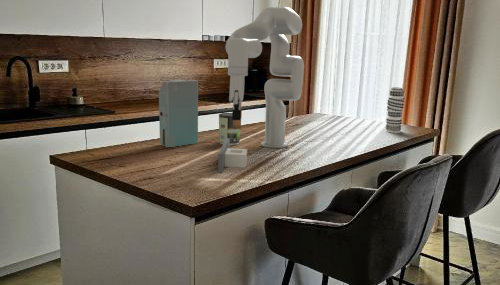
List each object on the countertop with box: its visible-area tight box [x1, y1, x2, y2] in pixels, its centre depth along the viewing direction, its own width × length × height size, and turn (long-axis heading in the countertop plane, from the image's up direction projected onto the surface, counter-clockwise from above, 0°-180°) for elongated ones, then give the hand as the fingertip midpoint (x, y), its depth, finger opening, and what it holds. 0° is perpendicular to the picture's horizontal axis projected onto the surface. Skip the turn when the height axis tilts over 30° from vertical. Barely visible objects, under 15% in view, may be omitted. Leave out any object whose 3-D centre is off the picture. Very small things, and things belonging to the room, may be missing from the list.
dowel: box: [233, 102, 242, 130], centre depth 178 cm, size 3×3×10 cm
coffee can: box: [218, 112, 241, 146], centre depth 221 cm, size 10×10×14 cm
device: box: [158, 79, 199, 148], centre depth 214 cm, size 16×8×30 cm, turn 132°
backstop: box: [217, 138, 231, 174], centre depth 181 cm, size 28×18×8 cm, turn 177°
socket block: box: [224, 147, 248, 168], centre depth 182 cm, size 10×8×5 cm
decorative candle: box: [385, 86, 405, 134], centre depth 261 cm, size 9×9×25 cm
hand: (236, 118), depth 178 cm, fingers closed on dowel, 3 cm apart
